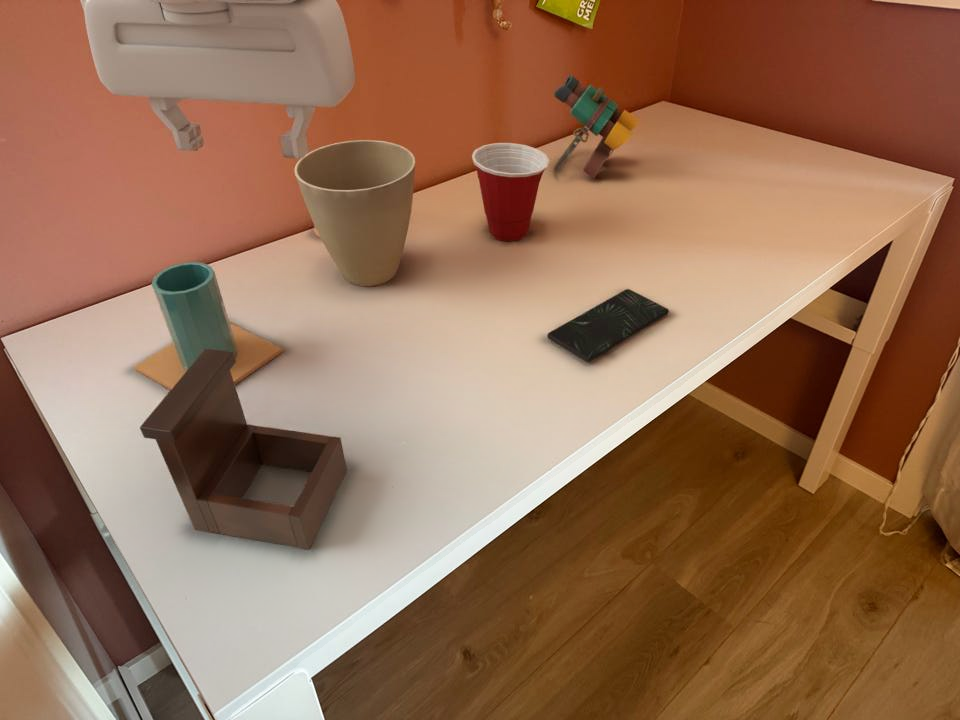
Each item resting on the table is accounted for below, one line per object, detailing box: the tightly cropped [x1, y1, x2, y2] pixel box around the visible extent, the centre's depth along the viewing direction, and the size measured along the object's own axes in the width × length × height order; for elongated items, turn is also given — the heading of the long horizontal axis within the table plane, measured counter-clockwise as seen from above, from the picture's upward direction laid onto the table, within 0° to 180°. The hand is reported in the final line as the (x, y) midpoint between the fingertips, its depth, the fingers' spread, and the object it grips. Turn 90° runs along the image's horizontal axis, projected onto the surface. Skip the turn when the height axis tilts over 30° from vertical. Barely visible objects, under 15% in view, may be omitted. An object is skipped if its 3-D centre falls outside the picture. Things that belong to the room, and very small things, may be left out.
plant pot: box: [293, 139, 416, 287], centre depth 94 cm, size 15×15×16 cm
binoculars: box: [552, 74, 641, 179], centre depth 120 cm, size 14×14×15 cm
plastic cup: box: [471, 142, 550, 242], centre depth 103 cm, size 11×11×12 cm
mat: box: [133, 322, 284, 391], centre depth 84 cm, size 12×12×1 cm
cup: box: [151, 261, 237, 371], centre depth 81 cm, size 6×6×11 cm
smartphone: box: [547, 288, 670, 364], centre depth 87 cm, size 7×1×15 cm
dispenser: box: [139, 349, 348, 550], centre depth 64 cm, size 12×10×13 cm
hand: (243, 152), depth 59 cm, fingers open, 8 cm apart
